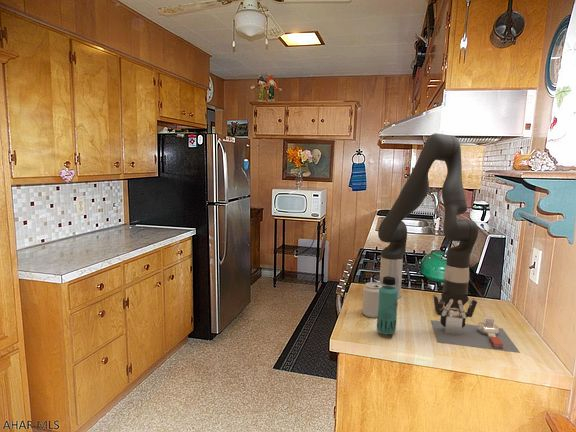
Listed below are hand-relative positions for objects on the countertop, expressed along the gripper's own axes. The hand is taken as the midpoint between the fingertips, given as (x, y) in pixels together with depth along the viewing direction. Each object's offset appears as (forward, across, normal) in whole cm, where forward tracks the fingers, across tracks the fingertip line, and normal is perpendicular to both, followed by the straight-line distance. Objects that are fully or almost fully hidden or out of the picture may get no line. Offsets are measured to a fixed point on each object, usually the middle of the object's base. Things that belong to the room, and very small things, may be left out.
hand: (452, 326), depth 130 cm
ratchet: (+2, -12, +1) cm, 12 cm away
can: (+3, +27, -9) cm, 29 cm away
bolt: (+3, 0, -22) cm, 22 cm away
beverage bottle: (+3, +22, +7) cm, 23 cm away
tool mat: (+3, -6, +1) cm, 7 cm away
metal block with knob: (+2, 0, 0) cm, 2 cm away
